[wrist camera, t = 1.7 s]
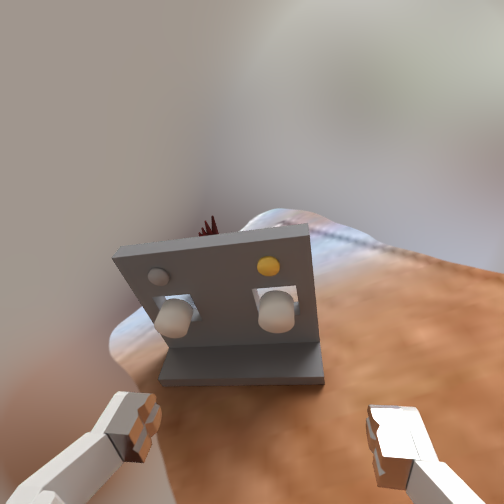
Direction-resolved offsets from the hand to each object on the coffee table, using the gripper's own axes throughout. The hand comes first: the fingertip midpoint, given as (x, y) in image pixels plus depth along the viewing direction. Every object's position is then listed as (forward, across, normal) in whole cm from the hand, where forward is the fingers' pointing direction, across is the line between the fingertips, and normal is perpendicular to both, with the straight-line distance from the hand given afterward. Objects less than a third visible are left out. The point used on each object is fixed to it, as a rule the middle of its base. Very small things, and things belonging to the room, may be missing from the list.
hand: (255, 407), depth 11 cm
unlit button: (+21, +15, +16) cm, 31 cm away
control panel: (+23, +8, +24) cm, 34 cm away
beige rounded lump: (+21, +1, +15) cm, 26 cm away
